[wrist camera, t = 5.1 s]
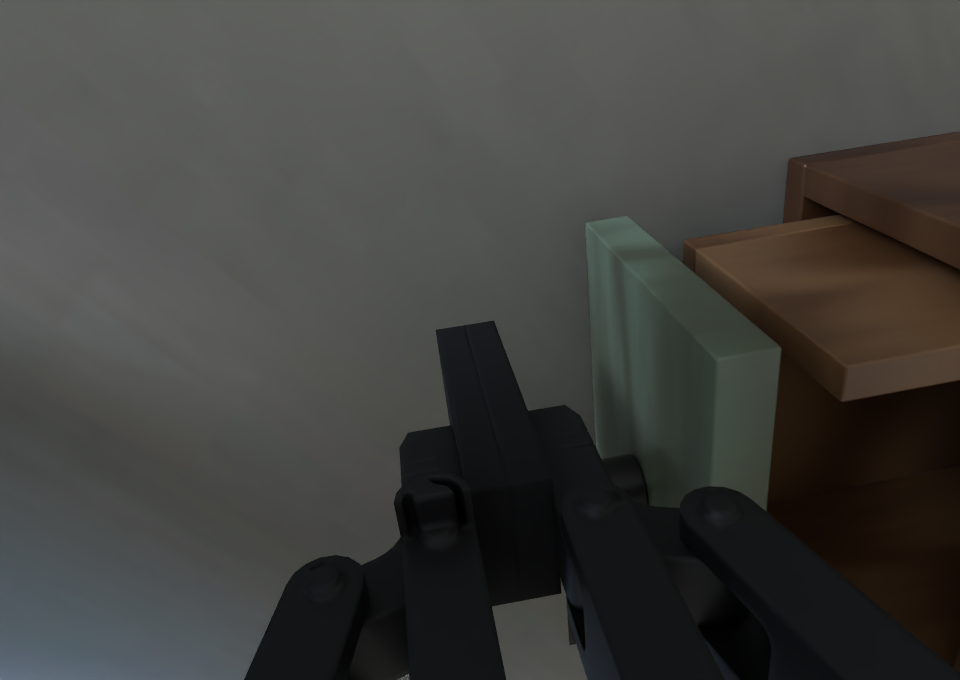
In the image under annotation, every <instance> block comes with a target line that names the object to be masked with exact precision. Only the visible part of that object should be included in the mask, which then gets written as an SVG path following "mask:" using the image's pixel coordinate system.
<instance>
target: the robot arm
mask: <svg viewBox="0 0 960 680" xmlns="http://www.w3.org/2000/svg"><path fill="white" fill-rule="evenodd" d="M436 335H437V342H438V348H439V355H440V362H441V368H442V375H443V382H444V388H445V395H446V402H447V408H448V415H449V421H450V426H446V427H440V428H434V429H428V430H422V431H416V432H410V433H408V434H407V435H406V437H405V439H404V441H403V442H402V444H401V446H400V448H399V450H400V464H401V483H402V487H401V488H400V489H399V491H398V492H397V493H396V497H395V501H394V506H395V511H396V516H397V520H398V525H399V530H400V535H401V537H400V539H399V540H398V542H397V543H396V544H395V545H394V547H392V548H391V549H390V550H389V551H388V552H386V553H385V554H383V555H382V556H380V557H378V558H376V559H374V560H372V561H370V562H367V563H365V564H363V565H361V566H360V564H359V563H358V562H356V561H354V560H353V559H351V558H349V557H344V556H337V555H334V556H327V557H321V558H318V559H316V560H314V561H311V562H309V563H307V564H305V565H304V566H303V567H301V568H300V569H299V570H298V571H296V572H295V573H294V574H293V576H292V577H291V579H290V580H289V581H288V583H287V584H286V587H285V589H284V591H283V593H282V596H281V598H280V600H279V602H278V605H277V607H276V609H275V611H274V614H273V616H272V618H271V620H270V622H269V625H268V627H267V629H266V631H265V634H264V636H263V638H262V640H261V643H260V645H259V647H258V649H257V652H256V654H255V656H254V658H253V661H252V663H251V665H250V667H249V670H248V672H247V674H246V676H245V679H244V680H397V679H399V678H401V677H403V676H405V675H407V674H409V677H410V680H506V676H505V671H504V666H503V661H502V656H501V651H500V646H499V641H498V636H497V631H496V626H495V621H494V616H493V611H492V606H496V605H502V604H507V603H512V602H518V601H523V600H528V599H534V598H539V597H544V596H550V595H555V594H560V593H561V580H562V583H563V586H564V590H565V593H566V598H567V613H568V627H569V641H570V645H573V644H577V647H578V650H579V654H580V657H581V660H582V663H583V667H584V670H585V673H586V676H587V679H588V680H960V673H959V672H958V671H956V670H955V669H954V668H953V667H952V666H950V665H949V664H948V663H947V662H946V661H944V660H943V659H942V658H941V657H940V656H938V655H937V654H936V653H935V652H934V651H932V650H931V649H930V648H929V647H928V646H926V645H925V644H924V643H923V642H922V641H920V640H919V639H918V638H917V637H916V636H914V635H913V634H912V633H911V632H910V631H908V630H907V629H906V628H905V627H904V626H903V625H901V624H900V623H899V622H898V621H897V620H895V619H894V618H893V617H892V616H891V615H889V614H888V613H887V612H886V611H885V610H883V609H882V608H881V607H880V606H879V605H877V604H876V603H875V602H874V601H873V600H871V599H870V598H869V597H868V596H867V595H865V594H864V593H863V592H862V591H861V590H859V589H858V588H857V587H856V586H855V585H853V584H852V583H851V582H850V581H849V580H848V579H846V578H845V577H844V576H843V575H842V574H840V573H839V572H838V571H837V570H836V569H834V568H833V567H832V566H831V565H830V564H828V563H827V562H826V561H825V560H824V559H822V558H821V557H820V556H819V555H818V554H816V553H815V552H814V551H813V550H812V549H810V548H809V547H808V546H807V545H806V544H804V543H803V542H802V541H801V540H800V539H798V538H797V537H796V536H795V535H794V534H793V533H791V532H790V531H789V530H788V529H787V528H785V527H784V526H783V525H782V524H781V523H779V522H778V521H777V520H776V519H775V518H773V517H772V516H771V515H770V514H769V513H767V512H766V511H765V510H764V509H763V508H761V507H760V506H759V505H758V504H757V503H755V502H754V501H753V500H752V499H751V498H749V497H747V496H746V495H744V494H742V493H741V492H739V491H736V490H733V489H729V488H726V487H715V486H708V487H703V488H698V489H695V490H693V491H691V492H690V493H688V494H686V495H685V496H684V498H683V500H682V501H681V503H680V508H672V507H656V506H649V505H644V504H641V503H638V502H635V501H633V499H632V498H631V496H630V495H629V494H628V493H627V492H626V491H625V490H624V489H622V488H620V487H618V486H617V485H615V484H614V483H613V481H612V479H611V477H610V475H609V473H608V471H607V469H606V467H605V465H604V463H603V461H602V459H601V457H600V455H599V453H598V451H597V449H596V447H595V445H594V444H593V441H592V439H591V437H590V435H589V433H588V432H587V429H586V427H585V425H584V423H583V421H582V419H581V417H580V415H578V414H577V413H575V412H574V411H573V410H571V409H570V408H568V407H567V406H566V405H562V406H556V407H550V408H544V409H538V410H532V411H528V410H527V408H526V405H525V402H524V400H523V397H522V394H521V392H520V389H519V386H518V384H517V381H516V378H515V376H514V373H513V370H512V368H511V365H510V362H509V360H508V357H507V354H506V352H505V349H504V346H503V344H502V341H501V338H500V336H499V333H498V330H497V328H496V325H495V322H494V321H490V322H483V323H477V324H470V325H464V326H458V327H451V328H445V329H438V330H436ZM560 577H561V580H560Z"/></svg>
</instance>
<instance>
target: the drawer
mask: <svg viewBox="0 0 960 680" xmlns="http://www.w3.org/2000/svg"><path fill="white" fill-rule="evenodd" d="M585 227H586V248H587V269H588V290H589V311H590V332H591V353H592V374H593V395H594V416H595V437H596V449H597V451H598V453H599V455H600V457H601V459H602V461H603V463H604V465H605V467H606V469H607V471H608V473H609V475H610V477H611V479H612V481H613V483H614V484H615V485H617V486H618V487H620V488H622V489H624V490H625V491H626V492H627V493H628V494H629V495H630V496H631V498H632V499H633V501H635V502H638V503H641V504H644V505H649V506H656V507H672V508H680V503H681V501H682V500H683V498H684V496H685V495H686V494H688V493H690V492H691V491H693V490H695V489H698V488H703V487H708V486H715V487H726V488H729V489H733V490H736V491H739V492H741V493H742V494H744V495H746V496H747V497H749V498H751V499H752V500H753V501H754V502H755V503H757V504H758V505H759V506H760V507H761V508H763V509H764V510H765V511H766V512H767V513H769V514H770V515H771V516H772V517H773V518H775V519H776V520H777V521H778V522H779V523H781V524H782V525H783V526H784V527H785V528H787V529H788V530H789V531H790V532H791V533H793V534H794V535H795V536H796V537H797V538H798V539H800V540H801V541H802V542H803V543H804V544H806V545H807V546H808V547H809V548H810V549H812V550H813V551H814V552H815V553H816V554H818V555H819V556H820V557H821V558H822V559H824V560H825V561H826V562H827V563H828V564H830V565H831V566H832V567H833V568H834V569H836V570H837V571H838V572H839V573H840V574H842V575H843V576H844V577H845V578H846V579H848V580H849V581H850V582H851V583H852V584H853V585H855V586H856V587H857V588H858V589H859V590H861V591H862V592H863V593H864V594H865V595H867V596H868V597H869V598H870V599H871V600H873V601H874V602H875V603H876V604H877V605H879V606H880V607H881V608H882V609H883V610H885V611H886V612H887V613H888V614H889V615H891V616H892V617H893V618H894V619H895V620H897V621H898V622H899V623H900V624H901V625H903V626H904V627H905V628H906V629H907V630H908V631H910V632H911V633H912V634H913V635H914V636H916V637H917V638H918V639H919V640H920V641H922V642H923V643H924V644H925V645H926V646H928V647H929V648H930V649H931V650H932V651H934V652H935V653H936V654H937V655H938V656H940V657H941V658H942V659H943V660H944V661H946V662H947V663H948V664H949V665H950V666H952V667H953V665H954V662H955V658H956V655H957V651H958V648H959V644H960V270H959V269H957V268H955V267H953V266H951V265H948V264H946V263H944V262H942V261H940V260H938V259H936V258H934V257H931V256H929V255H927V254H925V253H923V252H921V251H919V250H917V249H914V248H912V247H910V246H908V245H906V244H904V243H902V242H899V241H897V240H895V239H893V238H891V237H889V236H887V235H885V234H882V233H880V232H878V231H876V230H874V229H872V228H870V227H868V226H865V225H863V224H861V223H859V222H857V221H855V220H853V219H851V218H848V217H846V216H844V215H842V214H839V215H833V216H827V217H821V218H815V219H808V220H802V221H796V222H790V223H784V224H778V225H772V226H766V227H760V228H754V229H748V230H741V231H735V232H729V233H723V234H717V235H711V236H705V237H699V238H693V239H687V240H684V254H683V263H682V262H681V261H680V260H679V259H677V258H676V257H675V256H674V255H673V254H672V253H670V252H669V251H668V250H667V249H666V248H665V247H663V246H662V245H661V244H660V243H659V242H658V241H656V240H655V239H654V238H653V237H652V236H651V235H649V234H648V233H647V232H646V231H645V230H643V229H642V228H641V227H640V226H639V225H638V224H636V223H635V222H634V221H633V220H632V219H631V218H629V217H628V216H623V217H617V218H611V219H604V220H598V221H592V222H587V223H586V224H585Z"/></svg>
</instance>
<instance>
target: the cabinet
mask: <svg viewBox="0 0 960 680" xmlns="http://www.w3.org/2000/svg"><path fill="white" fill-rule="evenodd" d="M839 214H842V215H844V216H846V217H848V218H851V219H853V220H855V221H857V222H859V223H861V224H863V225H865V226H868V227H870V228H872V229H874V230H876V231H878V232H880V233H882V234H885V235H887V236H889V237H891V238H893V239H895V240H897V241H899V242H902V243H904V244H906V245H908V246H910V247H912V248H914V249H917V250H919V251H921V252H923V253H925V254H927V255H929V256H931V257H934V258H936V259H938V260H940V261H942V262H944V263H946V264H948V265H951V266H953V267H955V268H957V269H959V270H960V132H954V133H948V134H942V135H935V136H929V137H922V138H916V139H910V140H903V141H897V142H890V143H884V144H878V145H871V146H865V147H858V148H852V149H846V150H839V151H833V152H826V153H820V154H814V155H807V156H801V157H795V158H791V159H789V161H788V171H787V183H786V194H785V206H784V217H783V224H784V223H790V222H796V221H802V220H808V219H815V218H821V217H827V216H833V215H839ZM953 668H954V669H955V670H956V671H958V672H959V673H960V644H959V648H958V651H957V655H956V658H955V662H954V665H953Z"/></svg>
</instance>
